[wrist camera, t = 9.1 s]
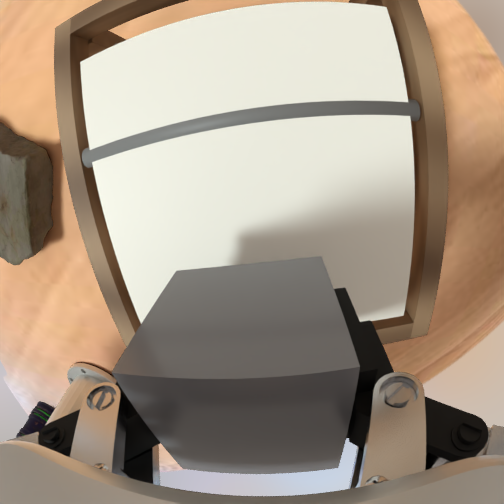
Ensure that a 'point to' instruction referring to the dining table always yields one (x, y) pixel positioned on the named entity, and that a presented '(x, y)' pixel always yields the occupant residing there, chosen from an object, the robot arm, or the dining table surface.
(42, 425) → the storage jar
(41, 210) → the marble piece
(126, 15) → the walnut hatch frame
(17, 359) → the dining table surface
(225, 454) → the basalt block
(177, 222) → the hatch leaf
